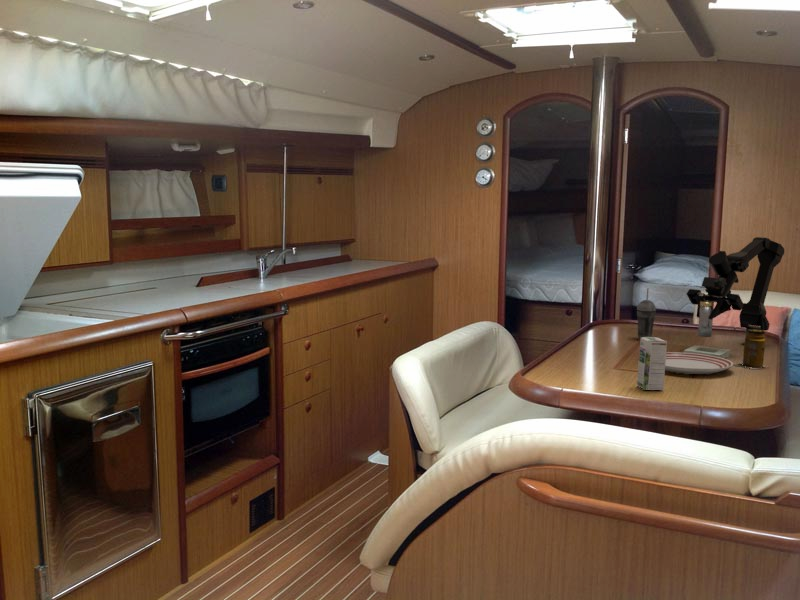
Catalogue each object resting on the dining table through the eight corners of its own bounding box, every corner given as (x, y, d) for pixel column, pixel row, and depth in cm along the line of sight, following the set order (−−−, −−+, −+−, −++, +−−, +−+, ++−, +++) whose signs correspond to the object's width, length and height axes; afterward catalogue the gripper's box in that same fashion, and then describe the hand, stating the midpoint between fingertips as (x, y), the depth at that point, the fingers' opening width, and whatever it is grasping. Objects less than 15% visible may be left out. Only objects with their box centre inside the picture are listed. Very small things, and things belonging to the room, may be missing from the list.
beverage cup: (633, 341, 281) (636, 289, 279) (635, 337, 288) (638, 287, 285) (653, 342, 279) (657, 290, 276) (655, 339, 285) (658, 288, 283)
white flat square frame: (694, 350, 265) (695, 345, 265) (729, 355, 257) (730, 349, 257) (683, 355, 256) (683, 350, 255) (719, 361, 248) (720, 355, 248)
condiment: (768, 367, 241) (771, 330, 239) (753, 370, 236) (756, 333, 234) (747, 362, 247) (750, 327, 245) (732, 365, 242) (735, 329, 240)
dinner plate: (623, 363, 244) (623, 353, 243) (686, 357, 255) (687, 347, 254) (685, 382, 219) (686, 371, 218) (752, 375, 230) (753, 364, 229)
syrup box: (636, 386, 212) (639, 336, 210) (655, 386, 213) (659, 336, 211) (644, 391, 207) (647, 340, 205) (664, 391, 207) (668, 340, 205)
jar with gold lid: (697, 334, 260) (700, 300, 258) (711, 335, 258) (713, 301, 256) (697, 336, 255) (700, 302, 254) (711, 337, 254) (714, 303, 252)
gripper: (691, 266, 263) (671, 299, 258) (741, 271, 248) (721, 306, 243) (702, 286, 269) (682, 319, 264) (751, 292, 254) (732, 327, 249)
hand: (703, 317), depth 255 cm, fingers closed on jar with gold lid, 4 cm apart
